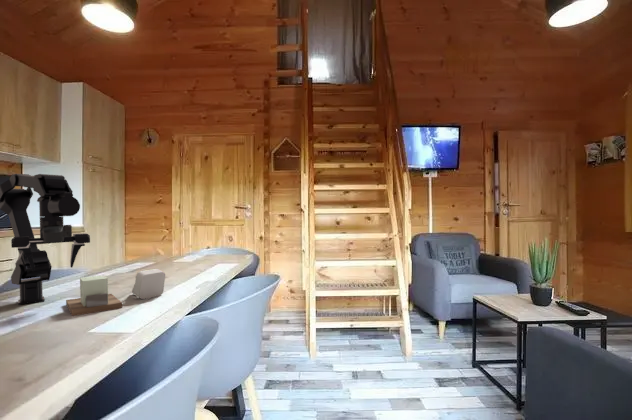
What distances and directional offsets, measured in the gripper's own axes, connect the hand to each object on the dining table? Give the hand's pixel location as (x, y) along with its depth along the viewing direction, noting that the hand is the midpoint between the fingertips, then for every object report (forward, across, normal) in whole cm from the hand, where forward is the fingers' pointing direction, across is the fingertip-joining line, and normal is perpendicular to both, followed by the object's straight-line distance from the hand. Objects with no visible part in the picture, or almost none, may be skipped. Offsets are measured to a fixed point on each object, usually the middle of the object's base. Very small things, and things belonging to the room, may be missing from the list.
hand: (52, 269), depth 110 cm
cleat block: (+10, +9, -11) cm, 17 cm away
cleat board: (+11, +9, -9) cm, 17 cm away
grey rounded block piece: (+11, +24, -5) cm, 27 cm away
